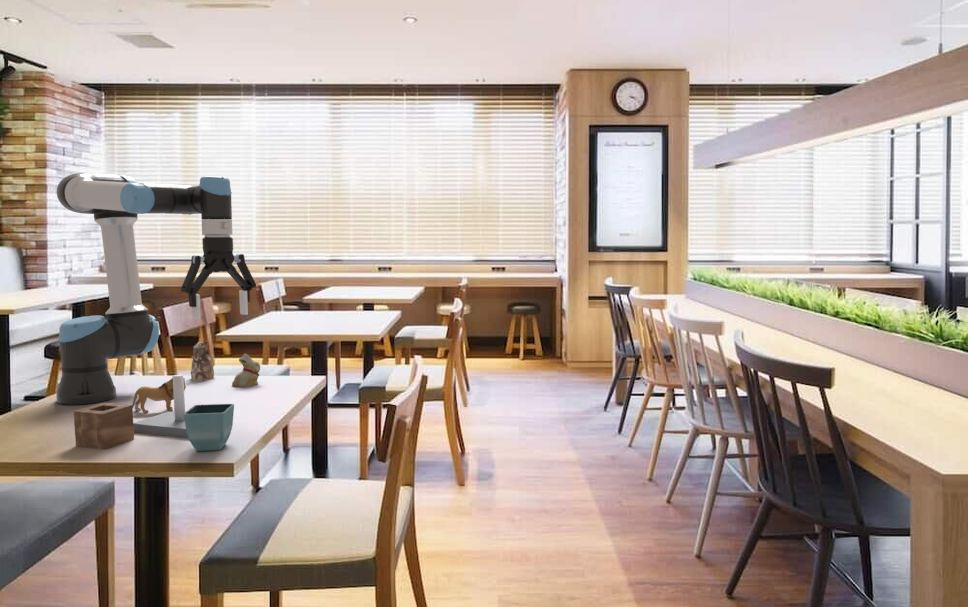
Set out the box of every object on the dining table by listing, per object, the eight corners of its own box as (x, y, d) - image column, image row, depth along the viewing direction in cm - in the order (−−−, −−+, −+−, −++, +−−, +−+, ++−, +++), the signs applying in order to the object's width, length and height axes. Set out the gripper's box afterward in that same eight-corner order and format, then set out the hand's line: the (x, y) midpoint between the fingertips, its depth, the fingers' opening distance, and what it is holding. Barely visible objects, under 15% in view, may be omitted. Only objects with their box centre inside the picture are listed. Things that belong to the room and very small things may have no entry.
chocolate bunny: (256, 386, 226) (255, 354, 225) (230, 386, 226) (229, 354, 225) (261, 382, 232) (260, 351, 231) (237, 382, 232) (235, 351, 231)
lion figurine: (187, 406, 202) (185, 373, 201) (186, 410, 197) (184, 377, 196) (128, 411, 197) (126, 378, 196) (126, 415, 192) (123, 382, 191)
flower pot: (196, 442, 167) (194, 404, 167) (236, 441, 168) (234, 403, 167) (184, 454, 159) (182, 413, 158) (226, 453, 159) (224, 412, 159)
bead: (75, 445, 166) (73, 411, 165) (106, 435, 173) (103, 402, 173) (104, 449, 163) (102, 414, 162) (134, 438, 171) (132, 405, 170)
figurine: (185, 379, 237) (183, 342, 236) (202, 375, 244) (200, 339, 243) (202, 381, 235) (200, 344, 233) (219, 377, 241) (217, 340, 240)
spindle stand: (132, 431, 177) (129, 378, 176) (168, 419, 188) (166, 369, 187) (193, 438, 171) (190, 383, 170) (227, 424, 182) (225, 373, 181)
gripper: (178, 237, 180) (183, 323, 183) (267, 235, 199) (270, 313, 202) (164, 237, 185) (168, 320, 188) (251, 235, 204) (254, 311, 206)
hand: (221, 317), depth 195 cm, fingers open, 13 cm apart
